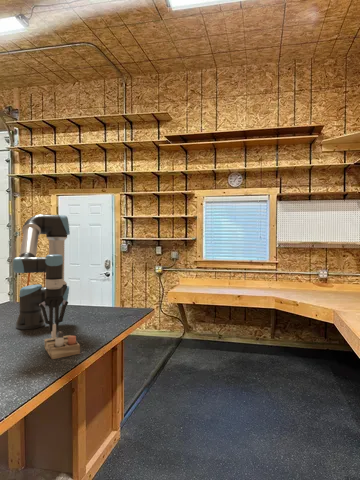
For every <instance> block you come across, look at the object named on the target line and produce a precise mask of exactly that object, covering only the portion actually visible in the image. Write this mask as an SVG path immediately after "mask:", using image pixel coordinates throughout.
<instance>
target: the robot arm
mask: <svg viewBox="0 0 360 480" xmlns="http://www.w3.org/2000/svg"><path fill="white" fill-rule="evenodd" d="M21 232H22V235H23V236H22V239H21V246H20V250H19V256H17V257H14V258H13V259H12V271H13V273H15V274H35V273H40V274H41V273H42V274H43V273H45V280H44V281H45V283H44V284H45V285H44V286H42V283H41V284H40V283H39V284H31V285H26V286H23V287H21V288H20V290H19V295H18V298H19V304H18V305H19V310H18V311H19V312H18V313H19V314H18V317H17V319H16V323H15V329H17V330H34V329H39V328H42V327H44V326H45V325H48V331H49V332H51V334H50V336H51V337H50V338H52V339H54V338H56V337H57V332H58V330H59V324H60V323H62V322H63V321H64V316H65V314H66V310H67V306H68V304H69V301H68V299H69V294H70V286H69V285H68V283H67V281H66V280H65V241H66V240H67V239H68V236H70V222H69V218H68V216H67V215H63V214H42V213H41V214H40V213H39V214H36V215H34V216H31V217H30V218H28V219H26V220H25V222H24V224H23V226H22V230H21ZM41 235H45V238H46V239H47V240H48V254H47V255H46V256H44V257H43V256H37V253H38V243H39V237H40V236H41ZM60 307H61V308H60ZM46 308H48V313H47V310H46ZM59 309H60V310H59Z"/></svg>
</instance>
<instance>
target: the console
mask: <svg viewBox="0 0 360 480" xmlns="http://www.w3.org/2000/svg"><path fill="white" fill-rule="evenodd" d="M68 336H72V335H71V334H68V335H63V338H64V346H63V347H55V339H56V338H57V336H56V338H54V339H52V337H48V338H44V345H43V346H44V349H45V350H46V352H47V354H48V355H49V357H50V359H51V360H57V359H61V358H65V357H70V356H75V355H80V354H81V344H80V343H78V341H77V340H76V344H75V345H68Z"/></svg>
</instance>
